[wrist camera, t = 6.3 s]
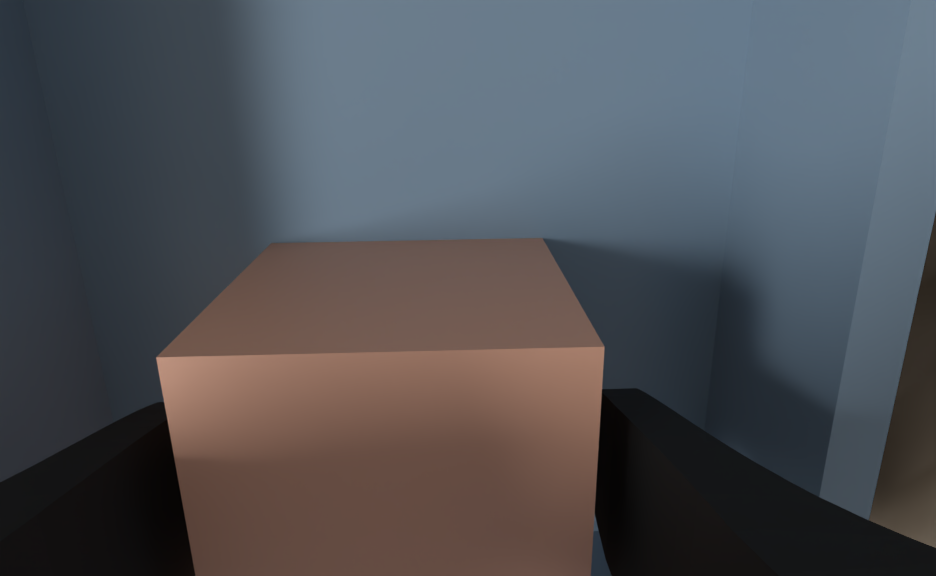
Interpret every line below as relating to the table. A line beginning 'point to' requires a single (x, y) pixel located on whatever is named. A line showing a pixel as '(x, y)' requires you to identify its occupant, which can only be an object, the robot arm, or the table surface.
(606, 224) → the tote
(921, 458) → the table surface
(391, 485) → the cube
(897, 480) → the table surface
